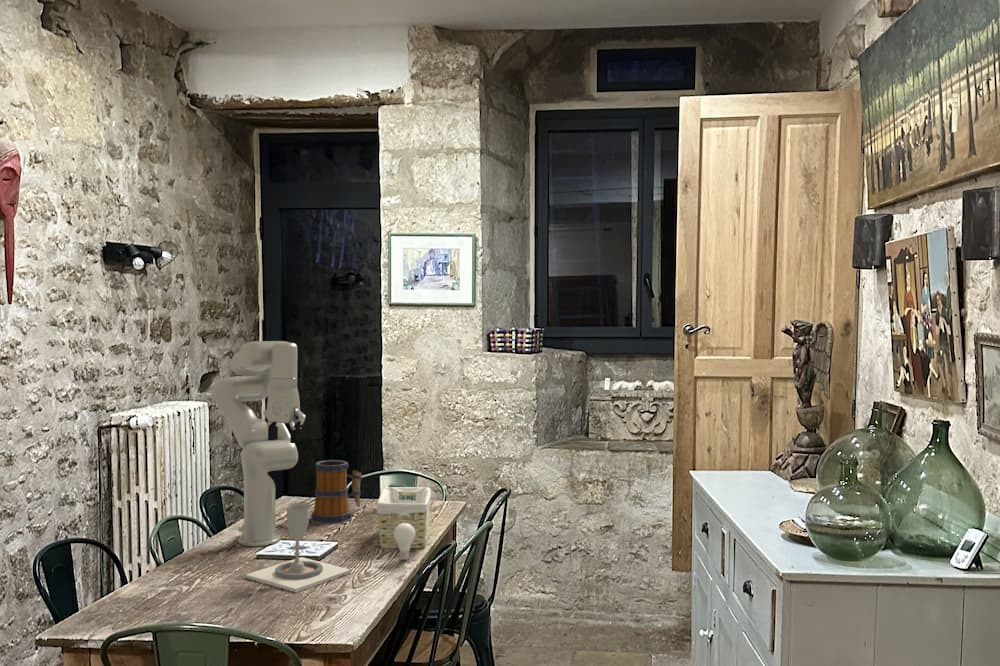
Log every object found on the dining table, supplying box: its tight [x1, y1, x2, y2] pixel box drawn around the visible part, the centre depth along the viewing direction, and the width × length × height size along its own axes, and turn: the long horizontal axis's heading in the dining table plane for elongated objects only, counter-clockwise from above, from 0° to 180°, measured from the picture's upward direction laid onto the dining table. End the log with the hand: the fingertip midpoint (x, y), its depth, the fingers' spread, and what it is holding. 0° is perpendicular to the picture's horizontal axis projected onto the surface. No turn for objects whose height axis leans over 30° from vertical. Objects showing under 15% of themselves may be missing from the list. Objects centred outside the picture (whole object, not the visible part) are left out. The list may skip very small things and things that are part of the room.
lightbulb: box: [394, 523, 415, 562], centre depth 242 cm, size 6×6×11 cm
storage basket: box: [376, 486, 432, 549], centre depth 264 cm, size 24×16×15 cm
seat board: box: [245, 556, 352, 593], centre depth 226 cm, size 20×20×2 cm
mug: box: [310, 459, 362, 525], centre depth 291 cm, size 19×14×20 cm
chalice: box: [284, 502, 311, 573], centre depth 227 cm, size 7×7×18 cm
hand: (283, 441), depth 244 cm, fingers open, 9 cm apart
